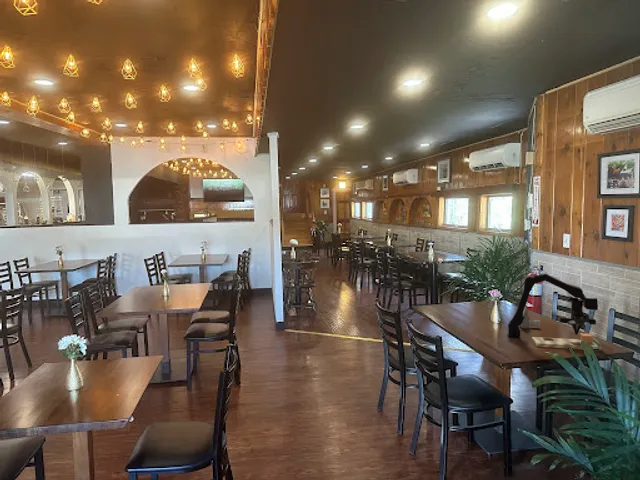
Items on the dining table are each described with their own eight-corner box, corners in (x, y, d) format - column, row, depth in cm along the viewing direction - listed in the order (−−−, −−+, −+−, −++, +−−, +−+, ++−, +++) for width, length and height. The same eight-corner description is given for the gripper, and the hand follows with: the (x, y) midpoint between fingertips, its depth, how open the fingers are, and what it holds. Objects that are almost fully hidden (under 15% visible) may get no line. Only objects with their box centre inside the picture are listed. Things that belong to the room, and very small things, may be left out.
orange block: (582, 342, 247) (582, 335, 247) (580, 340, 252) (580, 333, 252) (592, 343, 246) (592, 336, 246) (589, 340, 251) (589, 333, 251)
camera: (541, 329, 281) (541, 307, 280) (522, 329, 284) (522, 307, 283) (537, 326, 290) (537, 304, 289) (519, 325, 292) (519, 304, 291)
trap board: (536, 346, 247) (536, 340, 247) (531, 340, 260) (531, 334, 259) (601, 350, 238) (601, 344, 238) (593, 343, 251) (593, 337, 250)
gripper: (562, 310, 244) (562, 337, 245) (599, 312, 239) (599, 339, 240) (557, 306, 255) (557, 332, 256) (593, 308, 250) (592, 334, 251)
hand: (576, 334), depth 250 cm, fingers closed
